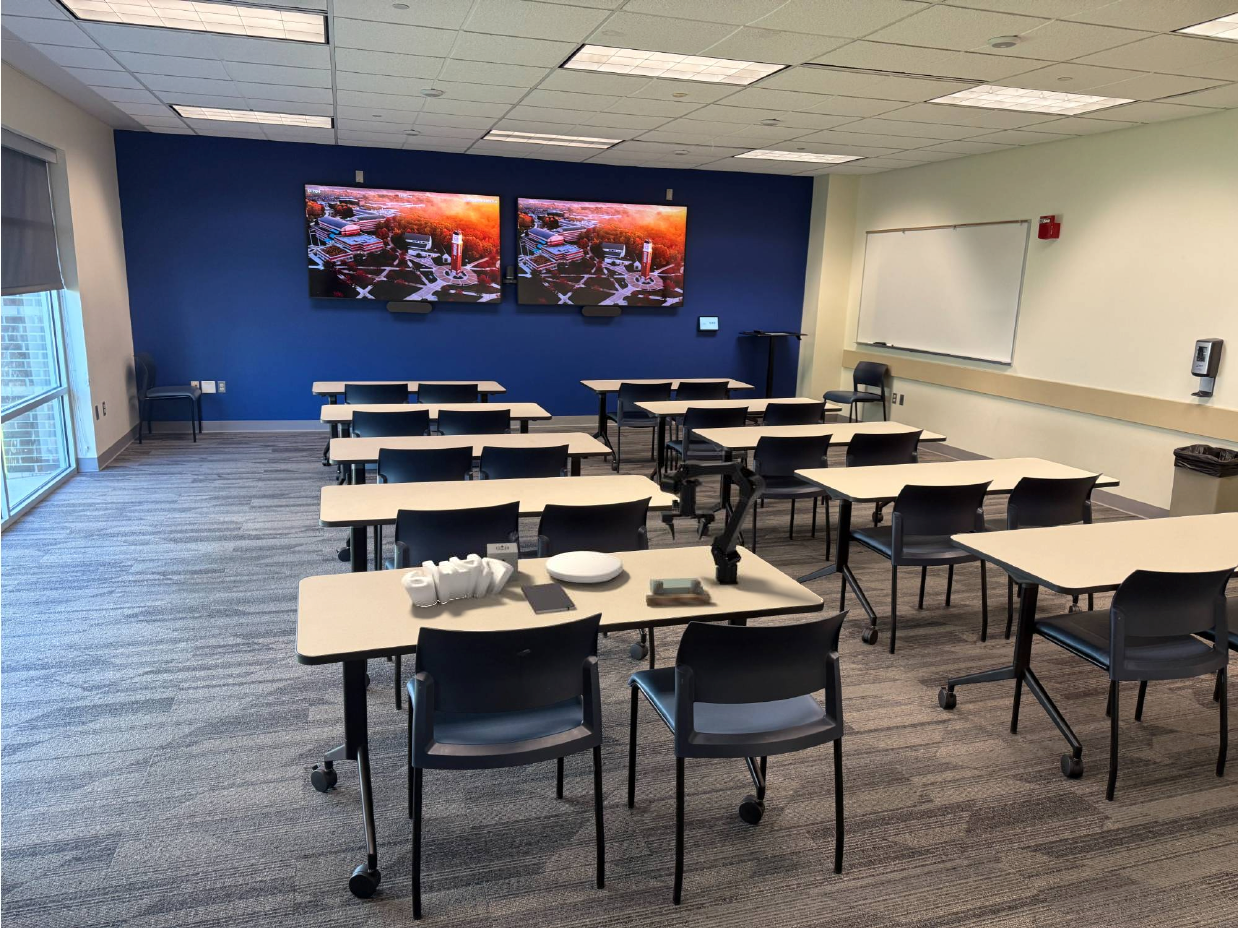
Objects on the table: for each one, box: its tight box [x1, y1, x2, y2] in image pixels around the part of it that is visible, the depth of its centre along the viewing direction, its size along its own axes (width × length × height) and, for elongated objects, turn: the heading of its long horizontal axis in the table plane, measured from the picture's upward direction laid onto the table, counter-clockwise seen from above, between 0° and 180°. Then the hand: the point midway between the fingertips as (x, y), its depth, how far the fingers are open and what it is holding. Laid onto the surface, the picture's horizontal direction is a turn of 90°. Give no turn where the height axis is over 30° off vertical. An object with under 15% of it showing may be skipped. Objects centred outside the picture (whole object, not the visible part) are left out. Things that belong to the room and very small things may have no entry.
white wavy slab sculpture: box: [401, 553, 514, 606], centre depth 258 cm, size 35×16×11 cm, turn 117°
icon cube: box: [486, 542, 519, 582], centre depth 276 cm, size 10×10×10 cm
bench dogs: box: [645, 579, 711, 607], centre depth 256 cm, size 20×6×6 cm, turn 96°
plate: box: [544, 550, 624, 584], centre depth 279 cm, size 28×6×27 cm
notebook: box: [520, 582, 576, 615], centre depth 257 cm, size 13×2×21 cm
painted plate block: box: [649, 577, 704, 595], centre depth 263 cm, size 16×8×4 cm, turn 97°
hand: (686, 540), depth 283 cm, fingers open, 9 cm apart
